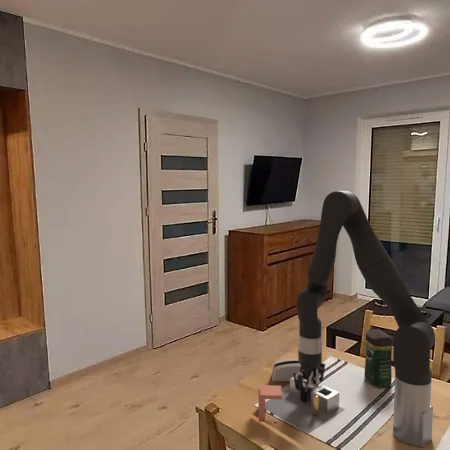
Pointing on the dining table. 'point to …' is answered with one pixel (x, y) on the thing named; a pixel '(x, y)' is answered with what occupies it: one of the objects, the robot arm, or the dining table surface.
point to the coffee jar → (378, 358)
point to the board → (298, 412)
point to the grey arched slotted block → (285, 369)
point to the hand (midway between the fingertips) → (309, 397)
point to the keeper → (267, 397)
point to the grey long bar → (326, 396)
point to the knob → (316, 406)
